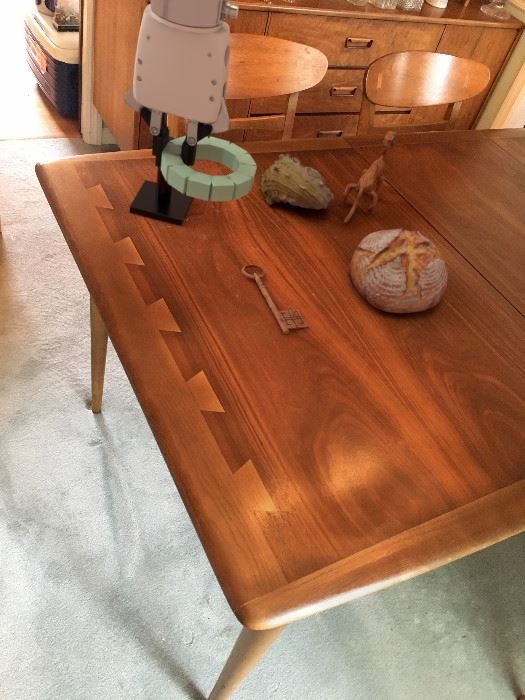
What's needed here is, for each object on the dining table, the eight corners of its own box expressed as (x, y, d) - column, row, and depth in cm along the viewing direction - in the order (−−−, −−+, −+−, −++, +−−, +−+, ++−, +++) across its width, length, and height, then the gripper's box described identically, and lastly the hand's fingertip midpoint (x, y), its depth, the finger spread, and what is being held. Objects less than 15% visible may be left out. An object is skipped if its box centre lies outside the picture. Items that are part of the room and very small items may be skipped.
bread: (331, 299, 91) (346, 249, 83) (365, 240, 104) (380, 192, 97) (428, 337, 87) (452, 288, 80) (449, 271, 101) (472, 224, 94)
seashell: (320, 233, 103) (342, 187, 96) (247, 203, 102) (264, 154, 95) (327, 204, 111) (348, 159, 104) (260, 176, 110) (276, 129, 103)
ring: (149, 185, 67) (150, 169, 65) (175, 142, 75) (177, 126, 73) (243, 211, 67) (246, 195, 65) (259, 165, 75) (262, 150, 73)
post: (129, 212, 94) (131, 145, 85) (144, 185, 100) (148, 120, 91) (181, 225, 94) (189, 160, 85) (193, 198, 100) (201, 134, 91)
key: (307, 332, 83) (269, 266, 92) (309, 327, 83) (271, 262, 91) (273, 335, 81) (238, 267, 89) (275, 331, 80) (239, 263, 88)
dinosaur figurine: (358, 235, 103) (385, 169, 93) (326, 220, 104) (350, 153, 94) (385, 194, 115) (411, 132, 105) (356, 182, 116) (380, 119, 106)
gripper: (269, 15, 60) (240, 168, 73) (124, -27, 60) (121, 135, 73) (257, 37, 55) (228, 197, 68) (98, -9, 54) (100, 162, 68)
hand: (173, 164), depth 70 cm, fingers closed on ring, 2 cm apart
